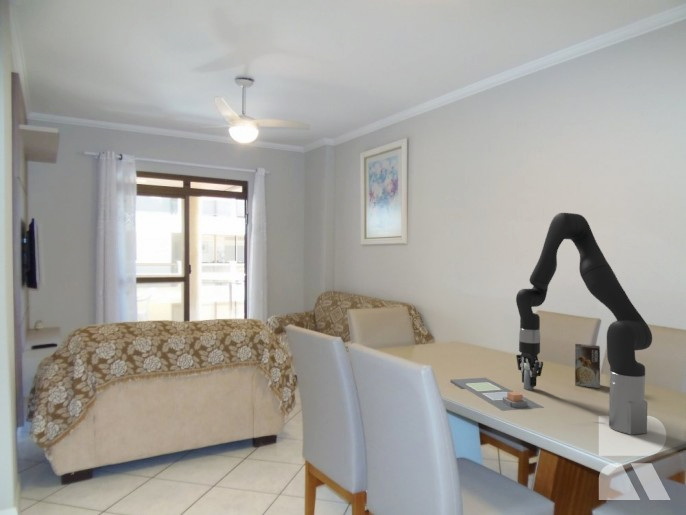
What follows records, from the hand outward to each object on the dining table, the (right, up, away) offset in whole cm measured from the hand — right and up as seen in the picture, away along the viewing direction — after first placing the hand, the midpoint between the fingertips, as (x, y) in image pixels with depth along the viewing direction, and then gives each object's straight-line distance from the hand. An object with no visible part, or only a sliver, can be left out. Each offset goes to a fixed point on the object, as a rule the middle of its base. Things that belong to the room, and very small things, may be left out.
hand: (528, 384), depth 182 cm
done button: (-12, -1, -18) cm, 22 cm away
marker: (0, -3, 0) cm, 3 cm away
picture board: (-15, -3, -5) cm, 16 cm away
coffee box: (+28, -3, +10) cm, 29 cm away
